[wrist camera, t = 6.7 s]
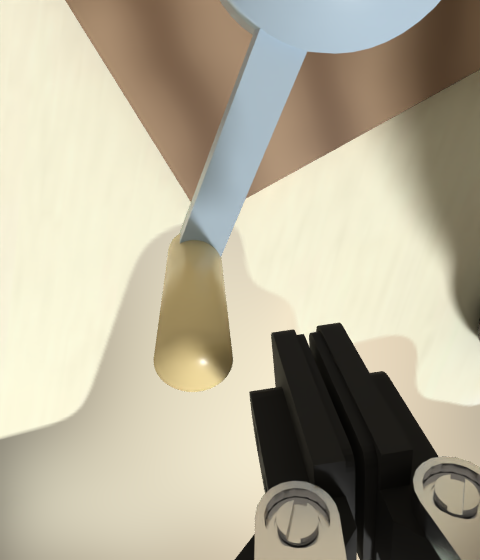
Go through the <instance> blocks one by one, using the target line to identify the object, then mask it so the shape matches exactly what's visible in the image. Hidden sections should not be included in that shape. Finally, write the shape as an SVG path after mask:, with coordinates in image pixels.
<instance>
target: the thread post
mask: <svg viewBox="0 0 480 560" xmlns="http://www.w3.org/2000/svg"><path fill="white" fill-rule="evenodd" d="M65 1H66V2H67V4H68V5H69V7H70V9H71V10H72V12H73V13H74V15H75V17H76V18H77V20H78V21H79V23H80V25H81V26H82V28H83V29H84V31H85V33H86V34H87V36H88V37H89V39H90V41H91V42H92V44H93V45H94V47H95V49H96V50H97V52H98V54H99V55H100V57H101V58H102V60H103V62H104V63H105V65H106V66H107V68H108V70H109V71H110V73H111V74H112V76H113V78H114V79H115V81H116V82H117V84H118V86H119V87H120V89H121V90H122V92H123V94H124V95H125V97H126V98H127V100H128V102H129V103H130V105H131V106H132V108H133V110H134V111H135V113H136V114H137V116H138V118H139V119H140V121H141V123H142V124H143V126H144V127H145V129H146V131H147V132H148V134H149V135H150V137H151V139H152V140H153V142H154V143H155V145H156V147H157V148H158V150H159V151H160V153H161V155H162V156H163V158H164V159H165V161H166V163H167V164H168V166H169V167H170V169H171V171H172V172H173V174H174V175H175V177H176V179H177V180H178V182H179V184H180V185H181V187H182V188H183V190H184V192H185V193H186V195H187V196H188V198H189V200H190V201H192V198H193V196H194V193H195V190H196V187H197V185H198V182H199V179H200V177H201V174H202V171H203V169H204V166H205V163H206V160H207V158H208V155H209V152H210V150H211V147H212V144H213V142H214V139H215V136H216V134H217V131H218V128H219V125H220V123H221V120H222V117H223V115H224V112H225V109H226V107H227V104H228V101H229V98H230V96H231V93H232V90H233V88H234V85H235V82H236V80H237V77H238V74H239V71H240V69H241V66H242V63H243V61H244V58H245V55H246V53H247V50H248V47H249V44H250V42H251V39H252V36H253V35H252V34H250V33H249V32H248V31H246V30H245V29H244V28H242V27H241V26H240V25H239V24H238V23H237V22H236V21H235V20H234V19H233V18H232V17H231V16H230V14H229V13H228V12H227V10H226V9H225V8H224V6H223V5H222V4H221V2H220V0H65ZM478 70H480V0H441V1H440V2H439V3H438V4H437V5H436V6H435V8H434V9H433V10H431V11H430V12H429V13H428V14H427V15H426V16H425V17H424V18H423V19H421V20H420V21H419V22H418V23H416V24H415V25H414V26H412V27H411V28H409V29H408V30H407V31H405V32H404V33H402V34H400V35H399V36H397V37H395V38H393V39H391V40H389V41H387V42H385V43H382V44H380V45H377V46H375V47H372V48H369V49H365V50H360V51H356V52H349V53H337V54H334V53H319V52H307V53H306V56H305V58H304V60H303V63H302V65H301V68H300V70H299V72H298V75H297V77H296V79H295V82H294V84H293V87H292V89H291V91H290V94H289V96H288V99H287V101H286V103H285V106H284V108H283V110H282V113H281V115H280V118H279V120H278V122H277V125H276V127H275V129H274V132H273V134H272V137H271V139H270V141H269V144H268V146H267V148H266V151H265V153H264V156H263V158H262V160H261V163H260V165H259V167H258V170H257V172H256V175H255V177H254V179H253V182H252V184H251V186H250V189H249V191H248V194H247V196H246V198H248V197H249V196H251V195H253V194H255V193H257V192H258V191H260V190H262V189H264V188H266V187H268V186H269V185H271V184H273V183H275V182H277V181H278V180H280V179H282V178H284V177H286V176H287V175H289V174H291V173H293V172H295V171H297V170H298V169H300V168H302V167H304V166H306V165H307V164H309V163H311V162H313V161H315V160H316V159H318V158H320V157H322V156H324V155H326V154H327V153H329V152H331V151H333V150H335V149H336V148H338V147H340V146H342V145H344V144H345V143H347V142H349V141H351V140H353V139H355V138H356V137H358V136H360V135H362V134H364V133H365V132H367V131H369V130H371V129H373V128H374V127H376V126H378V125H380V124H382V123H384V122H385V121H387V120H389V119H391V118H393V117H394V116H396V115H398V114H400V113H402V112H403V111H405V110H407V109H409V108H411V107H413V106H414V105H416V104H418V103H420V102H422V101H423V100H425V99H427V98H429V97H431V96H432V95H434V94H436V93H438V92H440V91H442V90H443V89H445V88H447V87H449V86H451V85H452V84H454V83H456V82H458V81H460V80H461V79H463V78H465V77H467V76H469V75H471V74H472V73H474V72H476V71H478ZM246 198H245V199H246Z"/></svg>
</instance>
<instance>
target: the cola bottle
mask: <svg viewBox="0 0 480 560" xmlns="http://www.w3.org/2000/svg"><path fill="white" fill-rule="evenodd" d="M478 334H479V340H480V319H479V325H478Z"/></svg>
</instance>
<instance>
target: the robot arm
mask: <svg viewBox="0 0 480 560" xmlns="http://www.w3.org/2000/svg"><path fill="white" fill-rule="evenodd" d="M271 339H272V349H273V361H274V373H275V384H276V388H270V389H264V390H257V391H251V392H250V402H251V410H252V418H253V425H254V432H255V438H256V445H257V451H258V456H259V462H260V468H261V473H262V479H263V484H264V490H265V494H264V495H263V497H262V498H261V500H260V502H259V504H258V505H257V510H256V515H255V534H254V535H253V537H252V538H251V539H250V541H249V542H248V543H247V545H246V546H245V547H244V548H243V550H242V551H241V552H240V554H239V555H238V556H237V557H236V559H235V560H356V555H357V553H358V556H359V558H360V560H480V467H478V466H477V465H475V464H473V463H471V462H469V461H466V460H463V459H459V458H456V457H444V456H442V457H438V455H437V454H436V452H435V450H434V449H433V447H432V445H431V444H430V442H429V441H428V439H427V437H426V436H425V434H424V433H423V431H422V429H421V428H420V427H419V425H418V423H417V421H416V420H415V418H414V417H413V415H412V413H411V412H410V410H409V409H408V407H407V405H406V404H405V402H404V401H403V399H402V397H401V396H400V394H399V393H398V391H397V389H396V388H395V386H394V385H393V383H392V381H391V380H390V378H389V377H388V375H387V374H386V373H385V372H383V371H381V372H374V373H369V371H368V370H367V368H366V366H365V364H364V362H363V361H362V359H361V358H360V355H359V354H358V352H357V350H356V348H355V347H354V345H353V343H352V341H351V340H350V338H349V336H348V334H347V333H346V331H345V329H344V327H343V326H342V324H341V323H334V324H327V325H321V326H317V329H316V332H314V333H310V335H309V344H310V348H309V345H308V343H307V340H306V338H305V336H304V334H301V335H296V332H295V330H287V331H280V332H273V333H272V334H271Z"/></svg>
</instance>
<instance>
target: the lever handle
mask: <svg viewBox="0 0 480 560" xmlns="http://www.w3.org/2000/svg"><path fill="white" fill-rule="evenodd" d="M440 1H441V0H220V2H221V4H222V5H223V6H224V8H225V9H226V10H227V12H228V13H229V14H230V16H231V17H232V18H233V19H234V20H235V21H236V22H237V23H238V24H239V25H240V26H241V27H242V28H244V29H245V30H246V31H248V32H249V33H250V34H252V35H253V36H252V39H251V42H250V44H249V47H248V50H247V53H246V55H245V58H244V61H243V63H242V66H241V69H240V71H239V74H238V77H237V80H236V82H235V85H234V88H233V90H232V93H231V96H230V98H229V101H228V104H227V107H226V109H225V112H224V115H223V117H222V120H221V123H220V125H219V128H218V131H217V134H216V136H215V139H214V142H213V144H212V147H211V150H210V152H209V155H208V158H207V160H206V163H205V166H204V169H203V171H202V174H201V177H200V179H199V182H198V185H197V187H196V190H195V193H194V196H193V198H192V201H191V204H190V206H189V209H188V212H187V214H186V217H185V220H184V223H183V225H182V228H181V231H180V233H179V235H177V236H176V237H175V238H174V239H173V240H172V242H171V244H170V246H169V249H168V257H167V264H166V272H165V279H164V286H163V294H162V301H161V309H160V316H159V324H158V331H157V339H156V346H155V353H154V367H155V370H156V372H157V374H158V376H159V377H160V378H161V379H162V380H163V381H164V382H165V383H166V384H167V385H169V386H171V387H173V388H175V389H178V390H181V391H187V392H198V391H204V390H207V389H210V388H212V387H215V386H216V385H218V384H219V383H221V382H222V381H223V380H224V379H225V378H226V377H227V375H228V374H229V372H230V370H231V367H232V363H233V357H232V347H231V338H230V330H229V321H228V312H227V304H226V295H225V287H224V279H223V270H222V261H221V255H222V253H223V251H224V248H225V246H226V243H227V241H228V239H229V236H230V234H231V232H232V229H233V227H234V224H235V222H236V220H237V217H238V215H239V213H240V210H241V208H242V205H243V203H244V201H245V198H246V196H247V194H248V191H249V189H250V186H251V184H252V182H253V179H254V177H255V175H256V172H257V170H258V167H259V165H260V163H261V160H262V158H263V156H264V153H265V151H266V148H267V146H268V144H269V141H270V139H271V137H272V134H273V132H274V129H275V127H276V125H277V122H278V120H279V118H280V115H281V113H282V110H283V108H284V106H285V103H286V101H287V99H288V96H289V94H290V91H291V89H292V87H293V84H294V82H295V79H296V77H297V75H298V72H299V70H300V68H301V65H302V63H303V60H304V58H305V56H306V53H307V52H319V53H334V54H337V53H349V52H356V51H360V50H365V49H369V48H372V47H375V46H377V45H380V44H382V43H385V42H387V41H389V40H391V39H393V38H395V37H397V36H399V35H400V34H402V33H404V32H405V31H407V30H408V29H409V28H411V27H412V26H414V25H415V24H416V23H418V22H419V21H420V20H421V19H423V18H424V17H425V16H426V15H427V14H428V13H429V12H430V11H431V10H433V9H434V8H435V6H436V5H437V4H438V3H439V2H440Z"/></svg>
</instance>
